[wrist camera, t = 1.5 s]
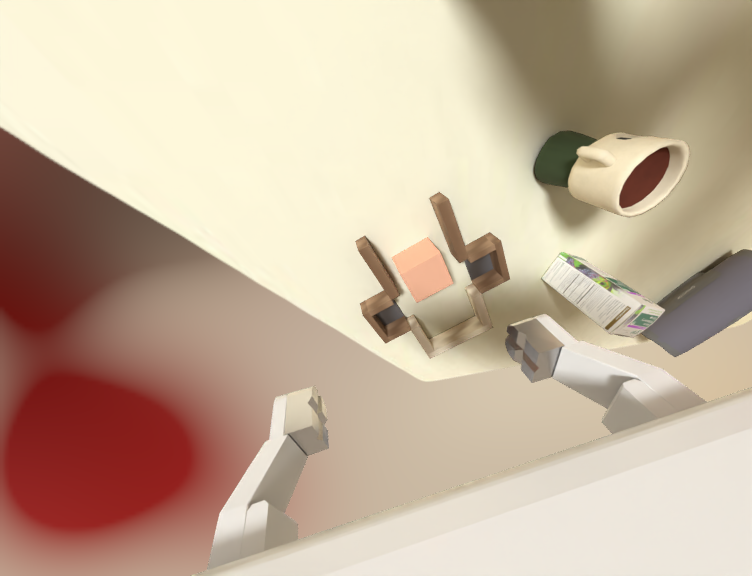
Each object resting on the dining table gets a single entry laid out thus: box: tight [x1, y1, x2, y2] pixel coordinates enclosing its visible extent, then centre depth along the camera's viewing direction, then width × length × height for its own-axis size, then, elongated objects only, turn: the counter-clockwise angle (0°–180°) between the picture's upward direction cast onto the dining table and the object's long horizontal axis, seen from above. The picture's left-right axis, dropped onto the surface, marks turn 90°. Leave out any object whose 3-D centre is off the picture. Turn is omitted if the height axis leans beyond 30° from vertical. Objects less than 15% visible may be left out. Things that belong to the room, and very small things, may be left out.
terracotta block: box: [392, 237, 453, 303], centre depth 39 cm, size 6×6×5 cm
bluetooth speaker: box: [641, 249, 752, 357], centre depth 55 cm, size 23×9×10 cm, turn 148°
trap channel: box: [356, 192, 510, 359], centre depth 43 cm, size 23×28×3 cm
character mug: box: [534, 131, 690, 217], centre depth 30 cm, size 11×7×13 cm, turn 65°
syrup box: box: [542, 252, 665, 338], centre depth 42 cm, size 6×6×14 cm
